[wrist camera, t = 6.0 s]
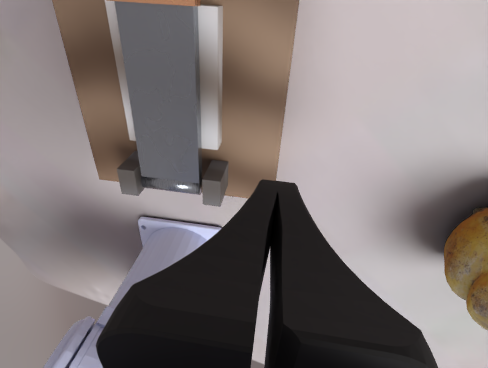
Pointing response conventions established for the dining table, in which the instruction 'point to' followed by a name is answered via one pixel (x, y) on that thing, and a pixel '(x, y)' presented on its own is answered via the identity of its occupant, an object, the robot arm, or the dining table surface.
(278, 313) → the robot arm
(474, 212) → the decorative figurine
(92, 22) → the clamp board
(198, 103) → the tan and grey block
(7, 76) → the dining table surface
